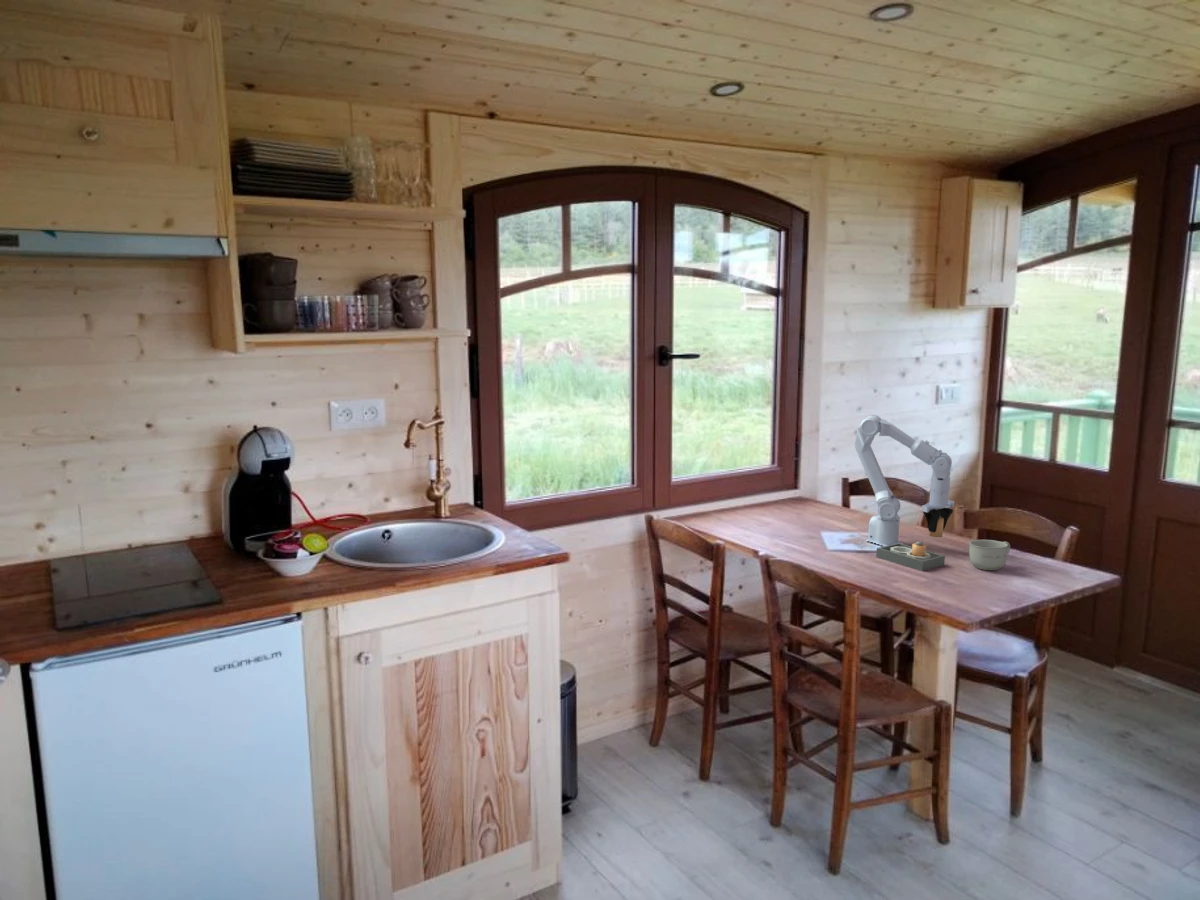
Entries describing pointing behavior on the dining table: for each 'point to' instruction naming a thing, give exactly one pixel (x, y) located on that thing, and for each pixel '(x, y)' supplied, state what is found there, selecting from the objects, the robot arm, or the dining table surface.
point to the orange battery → (938, 528)
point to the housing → (911, 556)
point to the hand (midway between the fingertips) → (936, 530)
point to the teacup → (988, 554)
